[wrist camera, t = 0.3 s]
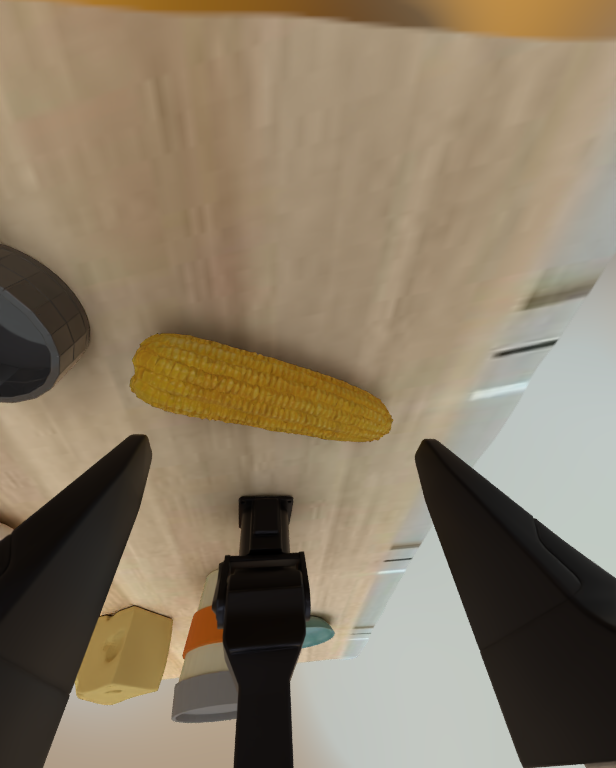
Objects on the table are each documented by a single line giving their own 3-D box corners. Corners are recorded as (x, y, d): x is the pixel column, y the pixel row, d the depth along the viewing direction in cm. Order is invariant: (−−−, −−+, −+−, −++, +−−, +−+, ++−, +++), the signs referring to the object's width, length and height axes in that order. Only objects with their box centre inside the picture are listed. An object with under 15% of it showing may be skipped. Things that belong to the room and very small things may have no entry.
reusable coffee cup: (287, 578, 51) (292, 705, 39) (229, 599, 54) (217, 724, 42) (241, 552, 44) (230, 698, 32) (176, 578, 47) (145, 721, 35)
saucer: (307, 636, 73) (309, 651, 70) (254, 632, 66) (253, 648, 64) (346, 615, 66) (348, 630, 64) (290, 609, 60) (291, 625, 58)
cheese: (88, 619, 53) (55, 700, 45) (137, 603, 51) (112, 685, 43) (132, 632, 59) (111, 706, 51) (177, 618, 57) (162, 693, 49)
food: (147, 371, 24) (117, 422, 19) (154, 309, 21) (120, 351, 17) (370, 422, 30) (389, 470, 26) (399, 380, 27) (427, 425, 23)
